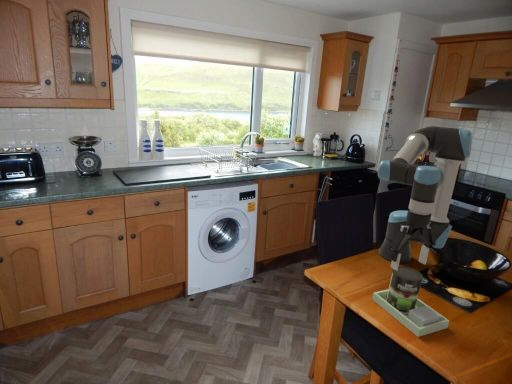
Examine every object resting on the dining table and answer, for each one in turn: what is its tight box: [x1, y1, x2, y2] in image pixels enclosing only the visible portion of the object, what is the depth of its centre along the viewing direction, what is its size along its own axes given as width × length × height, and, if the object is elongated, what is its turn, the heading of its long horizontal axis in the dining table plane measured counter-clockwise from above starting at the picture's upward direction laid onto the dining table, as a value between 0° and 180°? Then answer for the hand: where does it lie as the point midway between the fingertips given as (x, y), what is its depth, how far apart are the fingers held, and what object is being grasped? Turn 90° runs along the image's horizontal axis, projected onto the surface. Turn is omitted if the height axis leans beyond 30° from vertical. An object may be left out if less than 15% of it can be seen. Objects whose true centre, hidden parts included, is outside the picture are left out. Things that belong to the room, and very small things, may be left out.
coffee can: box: [386, 265, 424, 314], centre depth 126 cm, size 10×10×14 cm
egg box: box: [408, 306, 440, 328], centre depth 118 cm, size 8×6×4 cm
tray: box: [371, 288, 450, 338], centre depth 124 cm, size 14×22×4 cm, turn 23°
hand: (408, 265), depth 123 cm, fingers open, 13 cm apart
